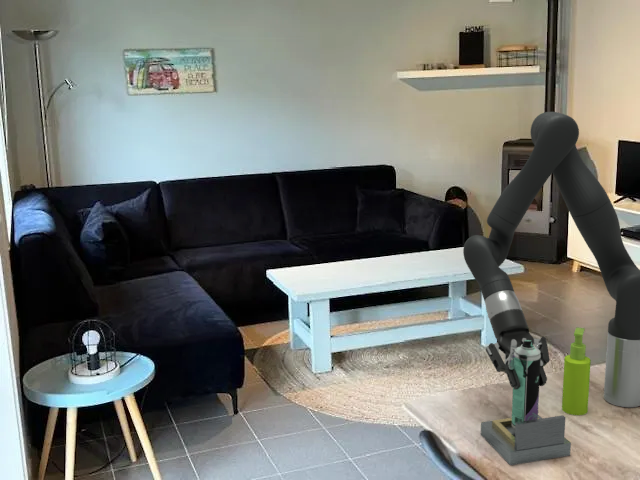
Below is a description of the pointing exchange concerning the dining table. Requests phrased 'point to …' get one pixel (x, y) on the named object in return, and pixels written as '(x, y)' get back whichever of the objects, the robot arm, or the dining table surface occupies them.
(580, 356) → the soap dispenser
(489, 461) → the dining table surface
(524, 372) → the spray can
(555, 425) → the grey and tan frame
